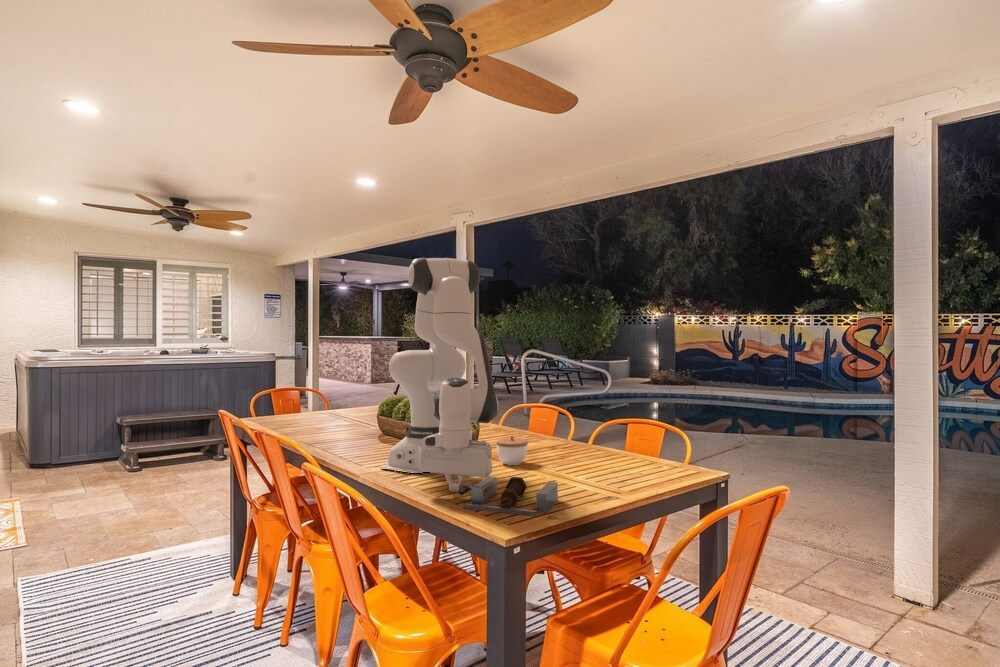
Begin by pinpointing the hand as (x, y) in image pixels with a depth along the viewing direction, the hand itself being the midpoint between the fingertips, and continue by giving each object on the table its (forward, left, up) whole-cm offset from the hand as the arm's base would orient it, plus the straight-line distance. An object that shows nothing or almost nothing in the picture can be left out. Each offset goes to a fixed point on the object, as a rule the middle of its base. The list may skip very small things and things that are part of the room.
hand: (455, 490), depth 151 cm
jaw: (+6, 0, -2) cm, 6 cm away
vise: (+16, -1, -2) cm, 16 cm away
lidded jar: (+2, +44, -2) cm, 44 cm away
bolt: (+15, +1, -2) cm, 16 cm away
